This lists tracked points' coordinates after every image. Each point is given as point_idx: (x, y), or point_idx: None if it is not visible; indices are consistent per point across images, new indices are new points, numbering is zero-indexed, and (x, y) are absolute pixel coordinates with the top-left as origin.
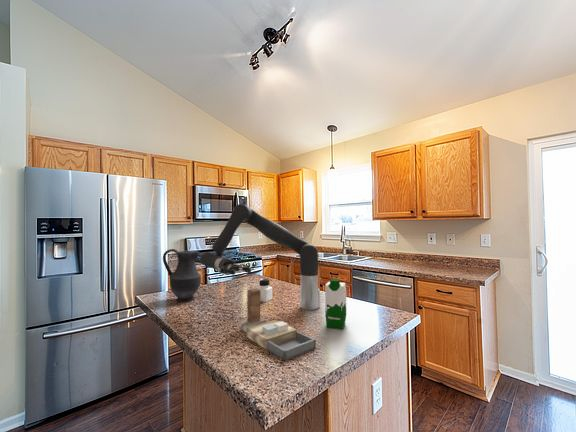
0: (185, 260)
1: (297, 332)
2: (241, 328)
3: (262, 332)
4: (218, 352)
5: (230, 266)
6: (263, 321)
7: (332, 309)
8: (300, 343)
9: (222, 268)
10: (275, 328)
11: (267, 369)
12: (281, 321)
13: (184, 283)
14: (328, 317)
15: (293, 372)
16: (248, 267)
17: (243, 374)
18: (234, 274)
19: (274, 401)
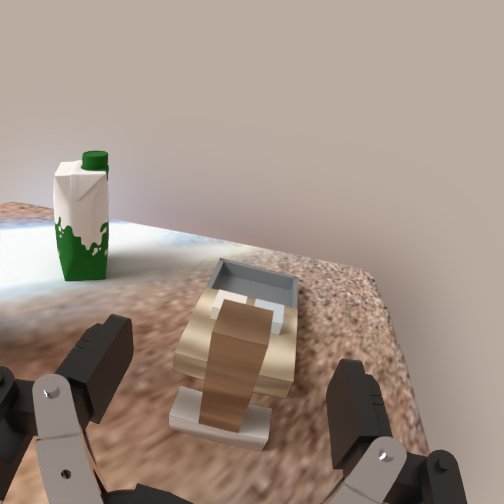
0: None
1: (212, 287)
2: (262, 447)
3: (280, 333)
4: (381, 385)
5: (339, 490)
6: (193, 392)
7: (108, 227)
8: (225, 289)
9: (456, 481)
10: (261, 301)
11: (331, 297)
12: (215, 306)
13: None
14: (106, 252)
15: (305, 274)
16: (24, 381)
17: (366, 312)
18: (327, 391)
19: (356, 270)
